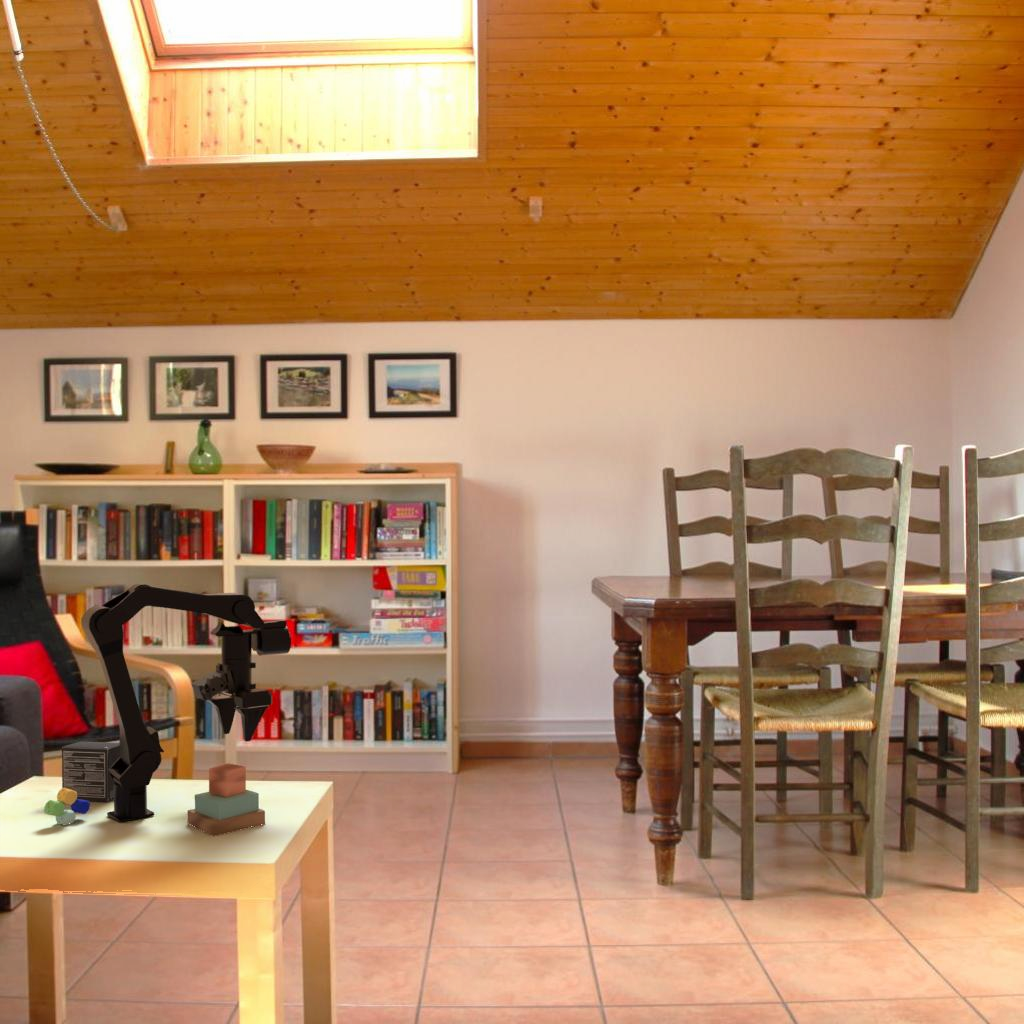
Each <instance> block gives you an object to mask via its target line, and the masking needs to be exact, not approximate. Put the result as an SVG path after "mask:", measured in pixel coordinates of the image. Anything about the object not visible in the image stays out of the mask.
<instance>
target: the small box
mask: <svg viewBox="0 0 1024 1024" xmlns="http://www.w3.org/2000/svg"><path fill="white" fill-rule="evenodd" d="M120 756H121V753H120V743H119V742H110V741H109V742H105V741H78V742H74V743H71V744H67V745H64V746H63V745H62V747H61V772H62V773H61V776H62V777H61V781H62V783H61V787H62V788H67V789H70V790H73V791H76V792H77V799H81V800H86V801H89V802H95V801H97V803H99V802H100V803H109V802H111V801H114V783H115V780H112V778H111V776H110V773H109V771H108V770H109V768H110V767H111V766H112V765H113V764H114V763H115V762H116V761H117V759H118V758H119V757H120ZM62 788H61V789H62Z"/></svg>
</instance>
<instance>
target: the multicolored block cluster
mask: <svg viewBox="0 0 1024 1024" xmlns="http://www.w3.org/2000/svg"><path fill="white" fill-rule="evenodd" d="M65 804H67V805H70V809H66V807H65V806H66V805H65ZM90 808H91V805H90V801H86V800H81V799H77V792H76V791H73V790H70V789H67V788H60V789H59V790H58V792H57V795H56V800H52V799H49V800H48V801H47V802H46V803H45V805H44V809H43V811H44V814H45V815H48V816H54V817H55V822H56V823H57V824H58V825H59V824H69V823H72V824H73V823H74V822H75V820H76V818H77V816H76V814H81V815H86V814H87V813H88V812H89V810H90ZM69 825H70V824H69Z"/></svg>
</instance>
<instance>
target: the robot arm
mask: <svg viewBox="0 0 1024 1024" xmlns="http://www.w3.org/2000/svg"><path fill="white" fill-rule="evenodd" d="M147 606H150V607H157V608H165V609H170V610H171V609H172V610H179V611H184V612H185V611H187V612H192V613H199V614H200V613H201V614H204V615H208V616H210V617H213V618H216V619H219V620H222V621H225V622H229V623H234V624H237V625H233V626H232V625H231V626H230V625H229V626H227V625H225V624H224V623H223V622H222V623H221V622H219V623H217V625H216V627H215V628H213V629H212V630H211V631H210V635H211V636H215V637H221V639H220V641H221V644H220V646H221V651H220V652H221V658H220V659H221V662H217V664H216V665H215V671H214V672H211V673H209V674H206V675H205V676H202V677H200V678H198V679H196V680H194V681H192V682H191V686H192V689H193V692H194V695H195V698H196V699H197V700H199V699H200V700H202V701H203V702H205V701H207V702H209V703H210V704H211V705H212V706H214V708H215V710H216V714H217V717H218V720H219V723H220V727H221V729H222V733H223V735H229V734H230V732H231V729H232V726H233V724H234V723H233V722H234V718H235V716H236V715H235V714H236V711H237V712H238V713H239V715H240V718H241V726H242V734H243V740H244V742H246V743H247V742H251V741H252V738H253V737H254V734H255V732H256V729H257V728H258V726H259V723H260V722H261V719H262V718H263V715H265V713H266V711H267V709H269V708H270V705H271V706H272V705H273V694H272V693H271V692H270V691H269V690H268V689H265V688H261V687H258V688H257V686H256V684H257V683H254V682H252V681H253V680H252V677H253V674H252V672H253V671H252V670H253V669H256V664H257V663H256V662H254V661H252V660H253V658H252V654H253V653H252V651H253V652H256V654H257V655H258V656H271V655H283V654H284V655H285V654H289V652H290V651H291V647H292V637H291V635H290V631H289V628H288V626H287V621H286V620H284V619H276V620H272V621H271V620H270V621H264V620H263V619H262V617H261V616H260V615H259V613H258V612H257V611H256V606H255V602H254V601H253V599H252V598H251V596H250V595H246V594H242V593H236V592H219V593H218V592H217V593H199V592H198V593H196V592H191V591H185V590H177V589H169V588H165V587H159V586H158V587H157V586H151V585H149V584H146V583H145V584H144V583H133V584H132V585H131V586H130V587H129V588H128V589H126V590H125V591H123V592H121V593H120V594H118V595H115V597H113V598H111V599H109V600H107V601H106V602H104V603H103V604H101V605H95V606H91V607H89V608H88V609H86V610H85V612H83V615H82V617H81V619H80V625H81V628H82V631H83V632H84V634H85V635H86V638H87V640H88V642H89V643H90V645H91V647H92V648H93V650H94V651H95V653H96V655H97V656H98V658H99V660H100V665H101V668H102V671H103V675H104V678H105V682H106V685H107V689H108V692H109V696H110V698H111V702H112V705H113V708H114V712H115V715H116V718H117V722H118V726H119V740H118V743H120V753H121V756H120V757H119V758H118V759H117V761H116V762H115V763H114V764H113V765H112V766H111V767H110V768H109V770H108V771H109V773H110V776H111V778H112V780H115V783H114V800H113V811H109V812H106V815H107V816H108V817H109V818H111V819H113V820H115V821H117V822H118V823H123V822H129V821H132V820H137V819H143V818H147V817H151V816H155V812H154V811H153V810H150V809H148V791H147V789H148V786H149V785H150V783H151V781H152V777H153V774H154V773H155V772H156V771H157V770H158V769H159V766H160V765H161V764H162V754H161V753H164V752H165V750H164V749H163V748H162V746H161V742H160V737H159V736H160V735H159V731H157V730H156V729H154V728H152V727H151V726H148V725H147V727H146V725H145V723H144V720H143V717H142V712H141V710H140V706H139V703H138V699H137V697H136V693H135V690H134V685H133V683H132V679H131V676H130V675H131V674H130V672H129V668H128V665H127V661H126V658H125V656H124V628H123V626H124V625H125V624H126V623H128V622H129V621H131V619H132V618H134V617H135V616H136V615H137V614H138V613H139V612H140V611H141V610H142V609H144V608H145V607H147ZM240 625H241V626H244V627H248V628H252V629H245V630H244V629H243V628H242V627H241V626H240Z"/></svg>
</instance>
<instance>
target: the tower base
mask: <svg viewBox="0 0 1024 1024" xmlns="http://www.w3.org/2000/svg"><path fill="white" fill-rule="evenodd" d="M188 823H189V824H191V825H193V826H195V827H196V828H195V827H194V828H195V829H197V828H198V829H197V830H199V829H200V830H199V831H201V830H202V831H201V832H203V831H204V832H203V833H205V832H206V833H205V834H207V833H208V834H207V835H208V836H209V835H210V836H211V835H212V837H216V836H215V835H217V836H220V835H219V834H221V835H224V833H225V834H228V832H230V833H233V832H232V831H234V832H237V831H236V830H238V831H241V830H240V829H243V830H245V829H244V828H247V829H249V828H248V827H251V826H256V827H258V826H257V825H260V826H262V825H261V824H265V825H266V811H265V810H264V809H261V808H259V810H257V811H253V812H249V813H245V814H241V815H237V816H234V817H230V818H226V819H222V820H218V819H215V818H212V817H209V816H206V815H203V814H201V813H198V812H195V808H191V809H188V810H187V824H188ZM189 824H188V825H189ZM191 825H190V826H191ZM193 826H192V827H193ZM251 828H252V827H251Z"/></svg>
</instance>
